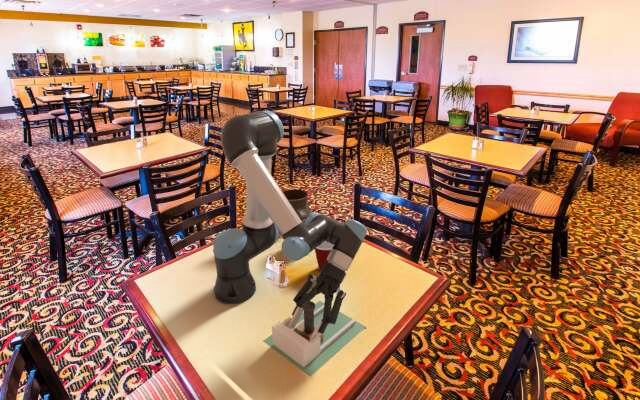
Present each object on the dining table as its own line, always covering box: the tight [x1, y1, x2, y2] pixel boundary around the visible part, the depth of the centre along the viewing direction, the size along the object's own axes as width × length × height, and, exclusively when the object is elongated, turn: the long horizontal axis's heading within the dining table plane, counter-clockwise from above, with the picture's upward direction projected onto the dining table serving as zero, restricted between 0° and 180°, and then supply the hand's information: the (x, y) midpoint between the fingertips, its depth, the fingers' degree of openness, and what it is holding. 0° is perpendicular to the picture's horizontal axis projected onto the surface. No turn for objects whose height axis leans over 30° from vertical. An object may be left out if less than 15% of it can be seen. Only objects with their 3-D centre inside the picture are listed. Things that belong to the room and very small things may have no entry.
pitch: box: [262, 300, 367, 377], centre depth 116 cm, size 20×26×2 cm
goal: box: [271, 316, 321, 367], centre depth 109 cm, size 13×7×7 cm, turn 48°
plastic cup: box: [314, 241, 334, 272], centre depth 150 cm, size 11×11×12 cm
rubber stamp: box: [295, 300, 323, 343], centre depth 112 cm, size 8×4×12 cm, turn 48°
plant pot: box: [282, 188, 309, 212], centre depth 188 cm, size 15×15×16 cm
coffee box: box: [296, 207, 313, 225], centre depth 168 cm, size 9×6×16 cm
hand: (301, 334), depth 111 cm, fingers open, 8 cm apart
